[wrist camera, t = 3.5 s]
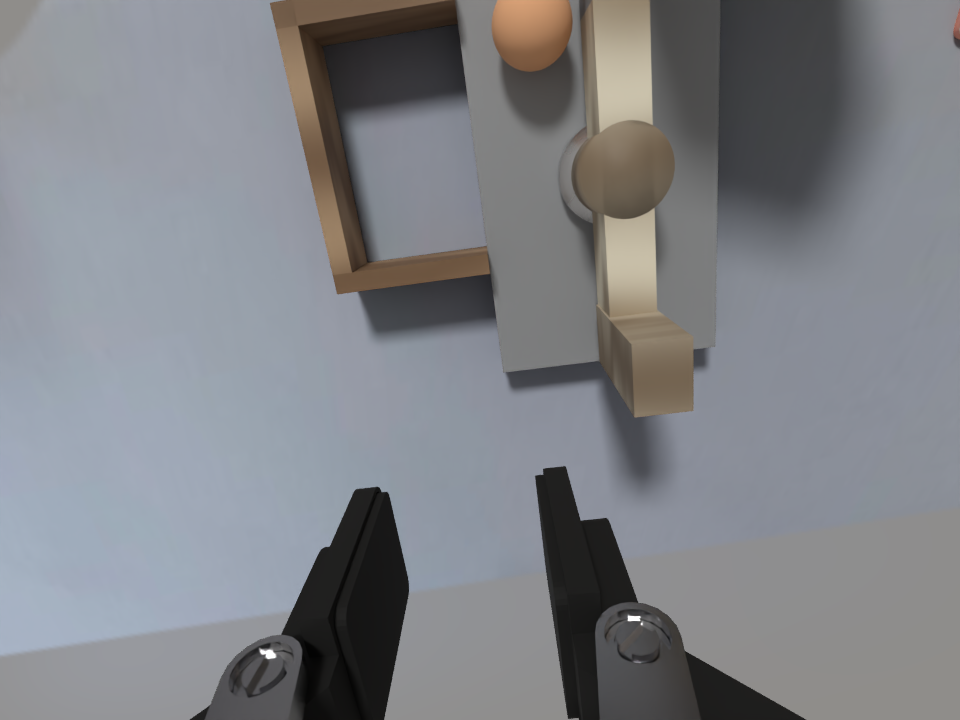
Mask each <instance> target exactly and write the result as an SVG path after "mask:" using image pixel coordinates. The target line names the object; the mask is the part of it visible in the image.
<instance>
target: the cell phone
mask: <svg viewBox="0 0 960 720" xmlns="http://www.w3.org/2000/svg"><path fill="white" fill-rule="evenodd" d="M953 33H954V36H955V38H957V39H959V40H960V9H959V13H958V16H957V19H956V23H955V26H954V31H953Z"/></svg>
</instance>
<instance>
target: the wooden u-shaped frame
mask: <svg viewBox="0 0 960 720" xmlns="http://www.w3.org/2000/svg"><path fill="white" fill-rule="evenodd" d="M270 5H271V10H272V14H273V18H274V23H275V27H276V31H277V36H278V40H279V44H280V49H281V53H282V57H283V62H284V66H285V70H286V75H287V79H288V83H289V88H290V92H291V96H292V101H293V105H294V109H295V113H296V118H297V122H298V126H299V131H300V135H301V139H302V144H303V148H304V152H305V157H306V161H307V165H308V170H309V174H310V178H311V183H312V187H313V191H314V196H315V200H316V204H317V209H318V213H319V217H320V222H321V226H322V230H323V234H324V239H325V243H326V247H327V252H328V256H329V260H330V265H331V269H332V273H333V278H334V282H335V286H336V291H337V294H343V293H350V292H358V291H365V290H373V289H380V288H387V287H395V286H402V285H410V284H417V283H425V282H432V281H440V280H447V279H455V278H462V277H469V276H477V275H484V274H490V266H489V258H488V251H487V246H485V247H478V248H470V249H463V250H456V251H448V252H441V253H434V254H427V255H419V256H412V257H405V258H398V259H390V260H383V261H376V262H368V263H367V258H366V253H365V249H364V244H363V239H362V234H361V229H360V224H359V220H358V215H357V210H356V205H355V200H354V196H353V191H352V186H351V181H350V176H349V171H348V167H347V162H346V157H345V152H344V147H343V143H342V138H341V133H340V128H339V123H338V118H337V114H336V109H335V104H334V99H333V94H332V90H331V85H330V80H329V75H328V70H327V65H326V61H325V56H324V51H323V46H326V45H333V44H339V43H345V42H351V41H357V40H363V39H369V38H375V37H381V36H387V35H393V34H399V33H405V32H412V31H418V30H424V29H430V28H436V27H442V26H448V25H454V24H458V20H457V12H456V4H455V0H285V1H279V2H273V3H270Z"/></svg>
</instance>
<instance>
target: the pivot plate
mask: <svg viewBox="0 0 960 720" xmlns="http://www.w3.org/2000/svg"><path fill="white" fill-rule="evenodd" d="M587 139H588V137H587V126H585V127H584V128H582V129H581V130H579V131H578V132H577V133H576V134H575V135H574V136H573V137H572V138H571V140H570V141H569V142H568V144H567V145H566V147H565V149H564V151H563V153H562V155H561V158H560V162H559V166H558V185H559V190H560V193H561V196H562V198H563V200H564V202H565V203H566V205H567V206H568V208H569V209H570V210H571V211H572V212H573V213H574V214H575V215H577V216H578V217H580V218H581V219H583V220H585V221H588V222H591V223H593V218H592V211H590V210H589V209H587V208H586V207H585V206H584V205H583V204H582V203H581V202H580V201H579V199H578V198H577V196H576V194H575V192H574V190H573V186H572V180H571V170H572V164H573V161H574V158H575V155H576V153H577V151H578V150H579V148H580V147H581V145H582V144H583V143H584V142H585V141H586V140H587Z"/></svg>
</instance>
